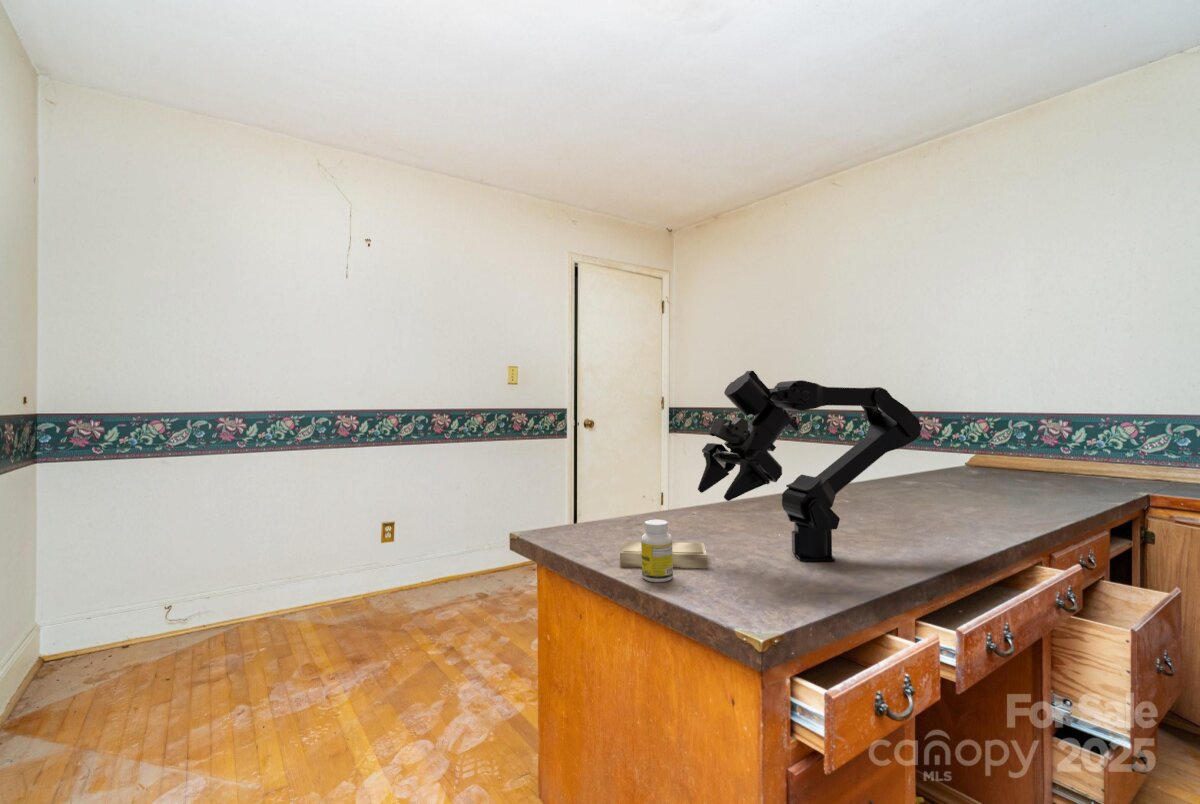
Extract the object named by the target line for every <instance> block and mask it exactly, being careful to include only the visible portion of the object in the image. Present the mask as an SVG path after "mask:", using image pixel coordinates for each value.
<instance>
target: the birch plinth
mask: <svg viewBox="0 0 1200 804" xmlns="http://www.w3.org/2000/svg"><path fill="white" fill-rule="evenodd" d="M672 554H673V567H680V569H681V568H683V569H707V568H708V555H707V551H706V547H705V543H704V542H672ZM619 565H620V567H629V568H630V567H631V568H632V567H634V568H642V547H641V541H623V542H622V545H621V548H620V552H619Z"/></svg>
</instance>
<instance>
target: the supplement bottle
mask: <svg viewBox="0 0 1200 804" xmlns="http://www.w3.org/2000/svg"><path fill="white" fill-rule="evenodd" d="M668 530H669V523H668V521H667V520H664V519H650V520H646V521H644V531H645V533H644V534H643V535H642V536H641V540H640V542H641V547H642V567H641V577H642V578H643V579H644V580H646V581H647V582H651V583H665V582H666V583H667V582H669V581H671V580H672V579H673V577H674V569H673V554H672V543H673V537H672V535H671V534H670V533H668Z"/></svg>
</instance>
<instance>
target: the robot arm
mask: <svg viewBox="0 0 1200 804" xmlns="http://www.w3.org/2000/svg"><path fill="white" fill-rule="evenodd" d="M723 393H724V395H725V397H727V399H728V400H729V401H730V402H731V403H732V405H734V406H735V407H736V408H737V409H738V410H739V411H740V412H741V413H742V414H743V416H750V415H751V416H754V418H752V420H751V421H750V422H748V420H746V419H745V418H743V417H735V418H734V419H733V420H732V419H727V418H714V419H713V422H712V424H711V427H710V430H709V432H708V434H709V435H710V436H712V437H716V438H718V439H720V440H723V441H724V443H723V444H724V445H723V444H722V443H715V442H709V443H706V445H704V447H703V448H702V449H701V453H702V455H703V456H702V457H704V459H705V468H704V471H703V473H702V477H701V479H700V482H699V484H698V487H697V491H699V493H700V494H703V493H705V492H706V491H707V490H709V489H711V488H712V487H713V486H714V485H716V484H718V483H719V482H721V481H722V480H723V479H726V477H728V476H729V475H730V473H729V472H731V471H733V470H734V469H735V467H736V465H737V466H738V465H739V471H738V472H737V474H736V476H735V478H734V479H733V481H732V482H731V484H730V485H729V487H728V488H727V490H726V491H725V494H724V495H723V498H724V499H725V501H727V502H730V501H732V500H734V499H735V498H738V497H741V496H742V495H744V494H746V493H749V492H751V491H752V490H755V489H758V488H760V487H762V486H766V485H769V484H770V483H771V482H773V483H777V481H779V479H780V478H781V476H783V467H782V466H781V464H780V463H779V462H778V461H777V460H776V459H775V457H773V455H772V454H771V453H770V452H774V451H775V450H776V448H777V446H775V444H774V443H775V442H776V441H777V439H779V437H780V436H781V434H782V433H783V432H784V430H785V431H786V432H787V431H790V432H791V431H796V432H797V431H799V428H800V427H799V423H798V417H797V416H791V415H790V414H789V413H788V412H787V411H796V412H797V411H798V412H801V411H802V412H803V411H809V410H814V409H819V408H821V407H826V406H835V407H836V406H842V407H844V406H846V407H848V406H849V407H850V406H852V407H854V406H855V407H857V406H858V407H859V406H860V407H861V408H862V409H863V410H864V411H863V412H864V416H865V419H866V421H867V422H868V424H869V426H868V428H867V432H866V435H865V436H864V437H863V438H862V439H861V440H860V441H858V442H857V443H856V444H855V445H853V447H851V448H850V449H849V450H847V451H846V452H844V453H843V454H842V455H841V456H840V457H839V458H837V459H836V460H835V461H833V462H832V463H831V464H830V465H828V467H826V468H825V469H824V470H823V471H820V473H819V474H817V475H816V476H811V475H806V474H800V475H798V477H796V478H795V479H794V481H793V482H790V483H789V484H786V485H785V486H786V489H785V490H784V491H783V492H782V494H781V506H782V509H783V510H784V512H785V513H786V515H787V517H788V520H789V522H792V523H794V525H793V526H794V528H793V529H794V530H791V552H792V553H793V554H794V555H795V557H796V558H798V560H799V561H803V562H805V561H807V562H835V561H836V558H835V557H834V556H833V538H832V537H833V532H832V531H833V530H837V529H838V527H839V524H840V517H839V515H838V514H836V513H835V512H834V511H833V509H831V508H832V507H833V505H834V503H835V499H836V495H837V494H838V493H839V492H840V491H842V490H843V489H844V488H845V487H847V486H848V485H849V484H850V483H851V482H853V481H854V480H855V479H856V478H858V477H859V476H860V475H861V474H862V473H864V472H865V471H866V470H867V469H868V468H870V467H871V466H872V465H873V464H874V463H875V462H877V461H878V460H879V459H880V458H881V457H883V456H884V455H885V454H886V453H888V452H891V451H895V450H898V449H902V448H904V447H906V446H908V445H911V443H914V442H916V441H917V439H919V438H920V436H921V429H922V428H921V423H920V421H919V419H918V417H917V416H916V415H915V414H913V413H912V411H911V410H910V409H909V408H908V407H907V406H905V405H904V404H902V403H901V402H900V401H899V400H897V399H896V398H894V397H893V396H892V395H891V394H890V393H889V391H888V390H887V389H885V388H884V387H879V386H877V387H876V386H875V387H874V386H873V387H872V386H871V387H843V386H841V387H835V386H824V385H821V384H819V383H815V382H811V381H808V380H800V379H799V380H787V381H780V382H778V383H776V385H775V386H774V387H772V388H768V386H766V384H765V383H764V382H763V381H762V380H761V379H760V378H759V376H758V374H757V373H756V372H755V370H746V371H745V372H744V374H742V375H741V376H739V377H737V378H736V379H735V380H733V381H731V382H730V383H729V384H728V385H727V387H726V388H725V389H724V392H723ZM728 449H729V450H728Z"/></svg>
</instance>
